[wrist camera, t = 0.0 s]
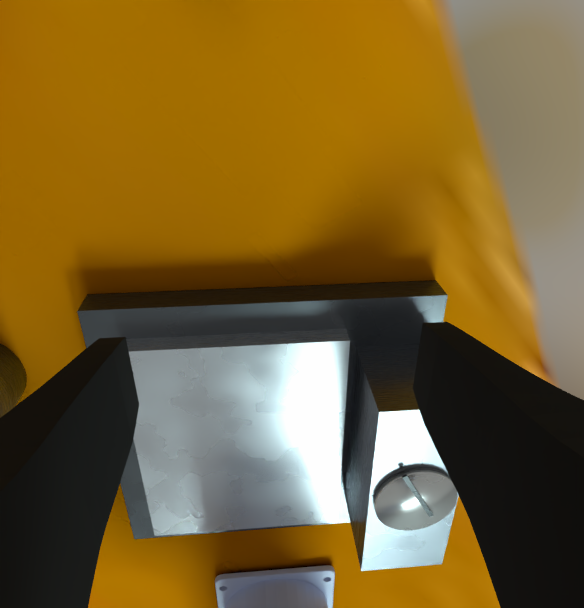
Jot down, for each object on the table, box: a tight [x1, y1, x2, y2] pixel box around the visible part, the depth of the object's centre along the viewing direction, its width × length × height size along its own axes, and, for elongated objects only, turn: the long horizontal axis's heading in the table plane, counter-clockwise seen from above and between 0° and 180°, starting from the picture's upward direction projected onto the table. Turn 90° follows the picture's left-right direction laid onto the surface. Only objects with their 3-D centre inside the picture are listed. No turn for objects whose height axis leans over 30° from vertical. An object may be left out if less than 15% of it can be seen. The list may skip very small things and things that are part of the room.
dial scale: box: [77, 280, 459, 571], centre depth 23 cm, size 15×16×6 cm
